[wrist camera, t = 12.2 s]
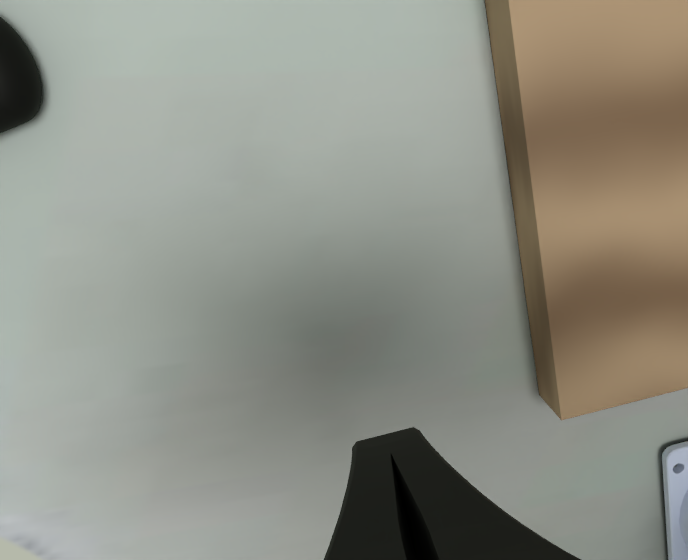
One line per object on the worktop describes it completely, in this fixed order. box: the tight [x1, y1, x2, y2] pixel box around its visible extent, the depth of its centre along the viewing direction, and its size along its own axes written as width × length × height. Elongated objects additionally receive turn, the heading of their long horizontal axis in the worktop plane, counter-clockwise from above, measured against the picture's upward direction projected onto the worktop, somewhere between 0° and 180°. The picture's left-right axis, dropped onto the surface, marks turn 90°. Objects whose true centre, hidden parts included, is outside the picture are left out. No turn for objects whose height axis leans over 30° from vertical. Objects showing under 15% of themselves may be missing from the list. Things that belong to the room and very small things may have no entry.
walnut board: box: [485, 0, 688, 420], centre depth 19 cm, size 20×10×2 cm, turn 13°
